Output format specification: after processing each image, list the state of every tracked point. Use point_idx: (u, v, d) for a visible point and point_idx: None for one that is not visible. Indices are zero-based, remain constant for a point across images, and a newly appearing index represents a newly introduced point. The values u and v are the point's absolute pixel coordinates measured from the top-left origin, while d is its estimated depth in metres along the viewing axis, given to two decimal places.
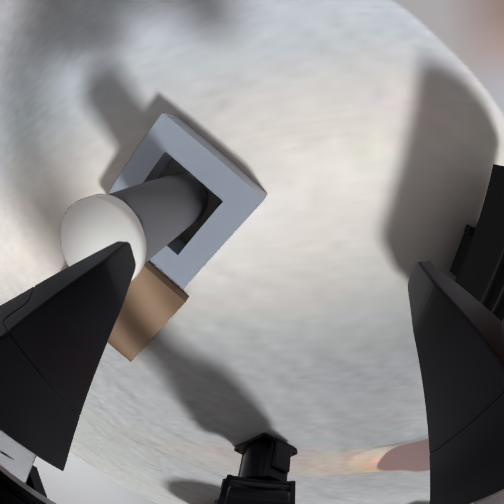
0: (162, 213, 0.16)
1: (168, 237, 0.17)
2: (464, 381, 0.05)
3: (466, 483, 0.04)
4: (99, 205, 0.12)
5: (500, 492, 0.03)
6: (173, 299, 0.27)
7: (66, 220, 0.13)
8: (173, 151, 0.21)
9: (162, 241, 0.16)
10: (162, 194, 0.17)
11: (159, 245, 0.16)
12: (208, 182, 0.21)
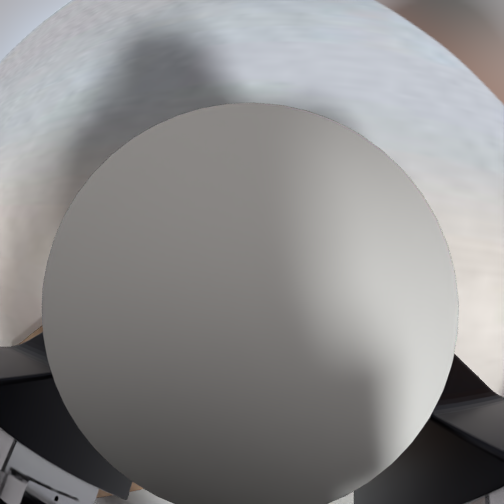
0: None
1: None
2: None
3: (377, 503, 0.04)
4: (344, 149, 0.03)
5: None
6: None
7: (131, 160, 0.03)
8: None
9: None
10: None
11: None
12: None
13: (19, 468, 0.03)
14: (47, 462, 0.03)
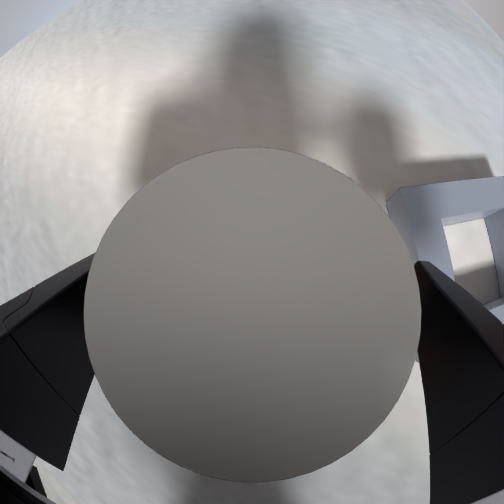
0: None
1: None
2: (464, 381, 0.05)
3: (466, 483, 0.04)
4: (332, 188, 0.04)
5: (500, 492, 0.03)
6: None
7: (159, 194, 0.04)
8: None
9: None
10: None
11: None
12: None
13: None
14: None
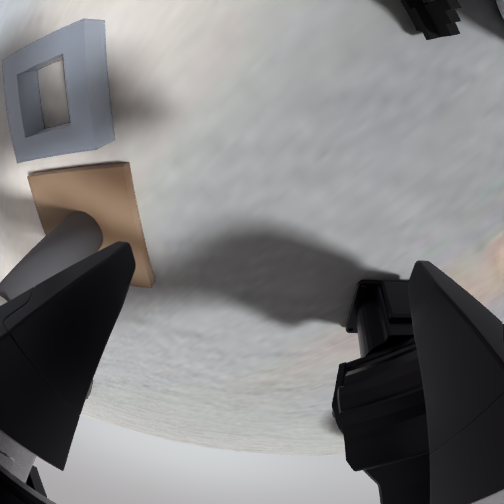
0: (19, 269, 0.16)
1: (39, 274, 0.17)
2: (464, 381, 0.05)
3: (466, 483, 0.04)
4: None
5: (500, 492, 0.03)
6: (114, 175, 0.21)
7: None
8: (19, 68, 0.14)
9: (31, 282, 0.16)
10: None
11: (30, 286, 0.16)
12: (47, 55, 0.14)
13: None
14: None
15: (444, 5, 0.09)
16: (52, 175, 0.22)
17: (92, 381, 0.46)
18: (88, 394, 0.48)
